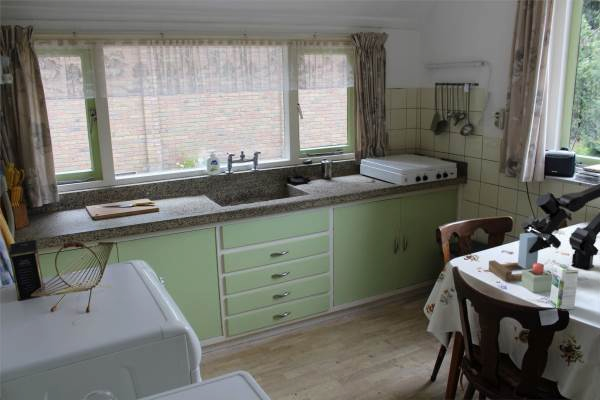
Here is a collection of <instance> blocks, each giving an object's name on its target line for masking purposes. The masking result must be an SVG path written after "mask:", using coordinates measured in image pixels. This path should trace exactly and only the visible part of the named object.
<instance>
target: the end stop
mask: <svg viewBox="0 0 600 400" xmlns="http://www.w3.org/2000/svg"><path fill="white" fill-rule="evenodd" d="M501 264H502V263H499V262H498V261H497V260H488V271H489V272H490V273H492V274H493V275H495V276H496V277H498V278H500V279H501V280H502V281H503V282H505V283H506V282H507V283H508V282H512V281H511V277H512V274H513V271H512V269H511V270H509V269H507V268H506V267H504V266H503V265H501Z"/></svg>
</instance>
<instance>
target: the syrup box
mask: <svg viewBox="0 0 600 400" xmlns="http://www.w3.org/2000/svg"><path fill="white" fill-rule="evenodd" d="M571 265H572V264H570V263H558V264H553V269H552V274H553V277H552V286H551V291H550V296H549V297H550V299H549V305H551V306H552V307H553V308H555V307H556V308H564V309H571V310H574V309H575V304H576V296H577V295H576V293H577V286H578V276H579V269H578V268H576V267H573V266H571ZM556 308H555V309H556Z"/></svg>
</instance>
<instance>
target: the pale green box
mask: <svg viewBox="0 0 600 400" xmlns="http://www.w3.org/2000/svg"><path fill="white" fill-rule="evenodd" d="M547 271H548V270H546V269H544V271H543V274H535V273H533V268H531V269H523V270H522V272H521V273H522V280H521V282H520V283H521V286H522V287H524V288H525V289H526V290H528V291H529V292H531V293H532V294H533V293H542V292H551V286H552V277H553V273H552V272H551V273H549V272H547Z"/></svg>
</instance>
